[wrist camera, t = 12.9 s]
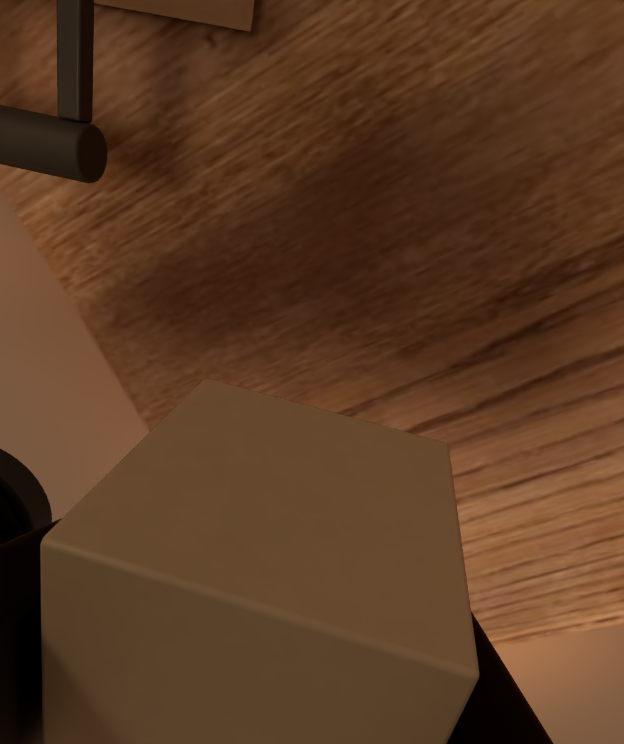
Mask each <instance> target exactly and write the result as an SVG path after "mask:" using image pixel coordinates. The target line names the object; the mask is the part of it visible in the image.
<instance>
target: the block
mask: <svg viewBox="0 0 624 744" xmlns="http://www.w3.org/2000/svg"><path fill="white" fill-rule="evenodd" d="M40 562H41V655H42V744H447V742H448V740H449V738H450V736H451V734H452V732H453V730H454V728H455V726H456V724H457V721H458V719H459V717H460V715H461V713H462V711H463V709H464V707H465V705H466V703H467V701H468V699H469V697H470V695H471V693H472V691H473V689H474V687H475V685H476V683H477V681H478V678H479V667H478V660H477V653H476V645H475V638H474V630H473V623H472V616H471V608H470V601H469V593H468V586H467V579H466V571H465V564H464V557H463V549H462V542H461V534H460V527H459V520H458V512H457V505H456V497H455V490H454V483H453V475H452V468H451V460H450V453H449V446H448V444H447V443H445V442H441V441H438V440H434V439H430V438H427V437H423V436H419V435H415V434H412V433H408V432H404V431H401V430H397V429H393V428H389V427H386V426H382V425H378V424H375V423H371V422H367V421H363V420H360V419H356V418H352V417H349V416H345V415H341V414H337V413H334V412H330V411H326V410H323V409H319V408H315V407H311V406H308V405H304V404H300V403H297V402H293V401H289V400H286V399H282V398H278V397H274V396H271V395H267V394H263V393H260V392H256V391H252V390H248V389H245V388H241V387H237V386H234V385H230V384H226V383H222V382H219V381H215V380H211V379H204V380H203V381H202V382H201V383H200V384H199V385H198V386H197V387H196V388H195V389H194V390H193V391H192V392H191V393H190V394H189V395H187V396H186V397H185V398H184V399H183V400H182V401H181V402H180V403H179V404H178V405H177V406H176V407H175V408H174V409H173V410H172V411H171V412H170V413H169V414H168V415H167V416H166V417H165V418H164V419H163V420H162V421H161V422H160V423H159V424H158V425H157V426H156V427H155V428H154V429H153V430H152V431H151V432H150V433H149V434H148V435H147V436H146V437H145V438H144V439H143V440H142V441H141V442H140V443H139V444H138V445H137V446H136V447H135V448H133V450H131V452H129V454H127V455H126V456H125V457H124V459H122V460H121V461H120V462H119V463H118V464H117V465H116V466H115V467H114V468H113V469H112V470H111V471H110V472H109V473H108V474H107V475H106V476H105V477H104V478H103V479H102V480H101V481H100V482H99V483H98V484H97V485H96V486H95V487H94V488H93V489H92V490H91V491H90V492H89V493H88V494H87V495H86V496H85V497H84V498H83V499H82V500H81V501H80V502H78V504H76V506H74V507H73V509H71V510H70V511H69V512H68V513H67V514H66V515H65V516H64V517H63V518H62V519H61V520H60V521H59V522H58V523H57V524H56V525H55V526H54V527H53V528H52V529H51V530H50V531H49V532H48V533H47V534H46V535H45V536H44V537H43V539H42V541H41V544H40Z"/></svg>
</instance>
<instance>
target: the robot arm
mask: <svg viewBox="0 0 624 744" xmlns="http://www.w3.org/2000/svg"><path fill="white" fill-rule="evenodd" d="M61 519H62V518H61ZM61 519H59V520H57V521H55V522H52V523H50V524H48V525H45V526H43V527H41V528H38V529H36V530H34V531H31V532H28V530H27V528H26V527H25V525H24V523H23V522H22V520H21V518H20V517H19V515H18V513H17V512H16V510H15V508H14V506H13V505H12V503H11V501H10V500H9V498H8V496H7V495H6V493H5V491H4V490H3V488H2V486H1V485H0V744H42V655H41V562H40V544H41V541H42V539H43V537H44V536H45V535H46V534H47V533H48V532H49V531H50V530H51V529H52V528H53V527H54V526H55V525H56V524H57V523H58V522H59V521H60V520H61ZM471 616H472V623H473V630H474V638H475V645H476V653H477V660H478V667H479V678H478V681H477V683H476V685H475V687H474V689H473V691H472V693H471V695H470V697H469V699H468V701H467V703H466V705H465V707H464V709H463V711H462V713H461V715H460V717H459V719H458V721H457V724H456V726H455V728H454V730H453V732H452V734H451V736H450V738H449V740H448V742H447V744H553V742H552V741H551V739H550V737H549V736H548V734H547V733H546V731H545V729H544V728H543V726H542V725H541V723H540V721H539V720H538V718H537V717H536V715H535V713H534V712H533V710H532V708H531V707H530V705H529V704H528V702H527V701H526V699H525V697H524V696H523V694H522V692H521V691H520V689H519V687H518V686H517V684H516V683H515V681H514V679H513V678H512V676H511V675H510V673H509V671H508V670H507V668H506V667H505V665H504V663H503V662H502V660H501V658H500V657H499V655H498V654H497V652H496V650H495V649H494V647H493V646H492V644H491V642H490V641H489V639H488V637H487V636H486V634H485V633H484V631H483V629H482V628H481V626H480V625H479V623H478V621H477V620H476V618H475V617H474V615H473V613H472V612H471Z"/></svg>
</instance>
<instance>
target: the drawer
mask: <svg viewBox="0 0 624 744" xmlns="http://www.w3.org/2000/svg"><path fill="white" fill-rule="evenodd" d="M94 3H96V4H102V5H107V6H113V7H118V8H124V9H129V10H135V11H140V12H146V13H151V14H157V15H162V16H168V17H173V18H178V19H184V20H189V21H195V22H200V23H206V24H211V25H217V26H222V27H228V28H233V29H239V30H244V31H250V30H251V25H252V17H253V8H254V0H57V86H58V116H59V117H55V116H50V115H46V114H41V113H36V112H31V111H26V110H22V109H17V108H12V107H7V106H2V105H0V164H3V165H8V166H12V167H17V168H21V169H26V170H30V171H35V172H39V173H44V174H49V175H53V176H58V177H62V178H67V179H71V180H76V181H80V182H85V183H94V182H96V181H98V180H99V179H100V178H101V176H102V175H103V173H104V170H105V167H106V162H107V146H106V141H105V138H104V136H103V134H102V132H101V131H100V129H99V128H97V127H96V126H95V125H93V124H89V123H91V122H92V101H93V37H94Z"/></svg>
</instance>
